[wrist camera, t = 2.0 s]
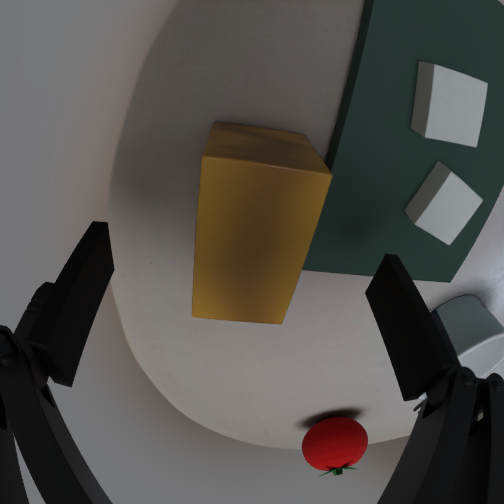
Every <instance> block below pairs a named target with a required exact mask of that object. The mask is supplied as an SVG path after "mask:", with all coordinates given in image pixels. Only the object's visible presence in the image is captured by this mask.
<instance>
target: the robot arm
mask: <svg viewBox="0 0 504 504" xmlns="http://www.w3.org/2000/svg"><path fill="white" fill-rule="evenodd" d="M113 272H114V263H113V257H112V250H111V243H110V236H109V228H108V222H97V221H93V222H92V223H91V225H90V226H89V228H88V229H87V231H86V232H85V234H84V235H83V237H82V239H81V240H80V242H79V243H78V245H77V246H76V248H75V250H74V251H73V253H72V254H71V256H70V258H69V259H68V261H67V263H66V264H65V266H64V268H63V269H62V271H61V273H60V275H59V277H58V278H57V280H56V282H55V283H50V282H45V283H44V284H42V286H40V287H39V288H38V289H37V290H36V292H35V294H34V295H33V297H32V299H31V302H30V303H29V304H28V306H27V310H25V312H24V314H23V316H22V318H21V320H20V322H19V324H18V326H17V328H16V330H15V332H14V334H13V333H12V331H11V330H10V329H9V328H8V327H6V326H2V325H0V504H29V501H28V498H27V494H26V491H25V487H24V483H23V479H22V476H21V471H20V467H19V463H18V458H17V452H16V447H15V441H14V436H15V439H16V441H17V444H18V446H19V449H20V451H21V454H22V456H23V459H24V461H25V463H26V465H27V467H28V469H29V472H30V474H31V476H32V478H33V480H34V482H35V484H36V486H37V488H38V490H39V492H40V494H41V496H42V498H43V500H44V501H45V503H46V504H112V502H111V501H110V499H109V498H108V496H107V495H106V494H105V492H104V491H103V489H102V488H101V486H100V485H99V483H98V481H97V480H96V478H95V477H94V475H93V473H92V472H91V470H90V469H89V467H88V465H87V464H86V462H85V460H84V458H83V457H82V455H81V453H80V451H79V449H78V448H77V446H76V444H75V442H74V440H73V438H72V436H71V434H70V432H69V430H68V428H67V426H66V424H65V422H64V420H63V418H62V416H61V414H60V412H59V409H58V407H57V405H56V402H55V400H54V398H53V395H52V393H51V391H50V389H49V386H48V384H47V381H48V377H49V376H50V377H51V378H52V380H53V381H54V383H58V384H61V385H65V386H68V387H72V384H73V381H74V377H75V374H76V371H77V368H78V365H79V361H80V358H81V355H82V352H83V349H84V346H85V344H86V341H87V338H88V335H89V332H90V329H91V326H92V324H93V321H94V318H95V316H96V313H97V311H98V308H99V306H100V303H101V301H102V298H103V296H104V293H105V291H106V288H107V286H108V283H109V281H110V279H111V276H112V274H113ZM365 294H366V297H367V299H368V302H369V304H370V307H371V309H372V312H373V314H374V317H375V319H376V322H377V325H378V327H379V330H380V332H381V335H382V338H383V341H384V343H385V346H386V349H387V352H388V354H389V357H390V360H391V363H392V366H393V369H394V372H395V375H396V378H397V381H398V384H399V387H400V390H401V393H402V396H403V400H404V401H410V400H415V399H418V398H419V397H420V396H421V395H422V394H424V393H426V396H427V398H426V399H424V400H423V401H422V402H421V403H420V404H418V405H417V406H416V407H415V408H414V411H416V410H417V409H419V408H420V407H421V409H420V411H419V412H418V413H419V414H418V417H417V420H416V422H415V425H414V427H413V430H412V432H411V435H410V437H409V440H408V442H407V444H406V447H405V449H404V452H403V454H402V456H401V458H400V460H399V462H398V465H397V466H396V469H395V471H394V473H393V475H392V477H391V479H390V481H389V483H388V485H387V486H386V488H385V490H384V492H383V494H382V496H381V497H380V499H379V501H378V503H377V504H504V380H503V378H502V377H501V376H500V375H498V374H497V373H492V374H490V375H489V376H488V377H487V378H486V379H482V378H478V377H476V375H475V374H474V372H473V371H472V370H471V369H470V368H468V367H466V366H461V364H460V361H459V359H458V357H457V355H456V353H455V350H454V348H453V346H452V344H451V342H450V340H449V338H448V336H447V334H446V333H445V330H444V328H443V326H442V324H441V322H440V321H439V320H438V319H437V318H436V316H435V315H434V314H430V312H429V310H428V308H427V306H426V304H425V302H424V300H423V298H422V297H421V295H420V293H419V291H418V289H417V287H416V286H415V284H414V282H413V280H412V279H411V277H410V275H409V273H408V272H407V270H406V268H405V267H404V265H403V263H402V261H401V260H400V258H399V256H398V255H395V254H387V253H385V255H384V257H383V259H382V261H381V263H380V265H379V267H378V269H377V271H376V273H375V275H374V277H373V279H372V281H371V283H370V285H369V287H368V288H367V290H366V292H365ZM482 412H483V418H482V419H481V420H479V421H478V415H480V414H481V413H482ZM13 433H14V435H13Z"/></svg>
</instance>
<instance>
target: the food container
mask: <svg viewBox="0 0 504 504" xmlns="http://www.w3.org/2000/svg"><path fill="white" fill-rule="evenodd" d="M430 314H434V315H435V316H436V318H437V319H438V320H439V321H440V322H441V324H442V326H443V328H444V330H445V333H446V334H447V336H448V338H449V340H450V342H451V344H452V346H453V348H454V350H455V353H456V355H457V357H458V359H459V361H460V364H461V366H466V367H468V368H470V369H471V370H472V371H473V372H474V374H475V375H476V377H478V378H483V377H484V376H485V375H487V374H488V373H489V372H490V371H492V370H493V369H494V368H495V367H496V366H497V365H498V364H499V363H500V362H501V361H502V360H503V359H504V327H503V326H502V325H501V324H500V323H499V321H498V320H497V319H496V318H495V317H494V316H493V314H492V313H491V312H490V311H489V310H488V309H487V308H486V307H485V305H484V304H483V303H482V302H481V301H480V300H479V299H478V298H477V297H475V296H473V295H465V296H460V297H457V298H455V299H452V300H450V301H448V302H446V303H444V304H443V305H441V306H440V307H438V308H437V309H435V310H434V311H433V312H432V313H430ZM419 398H420V399H422V400H424V399H426V398H427V396H426V393H424V394H422V395H421V396H420V397H419Z"/></svg>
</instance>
